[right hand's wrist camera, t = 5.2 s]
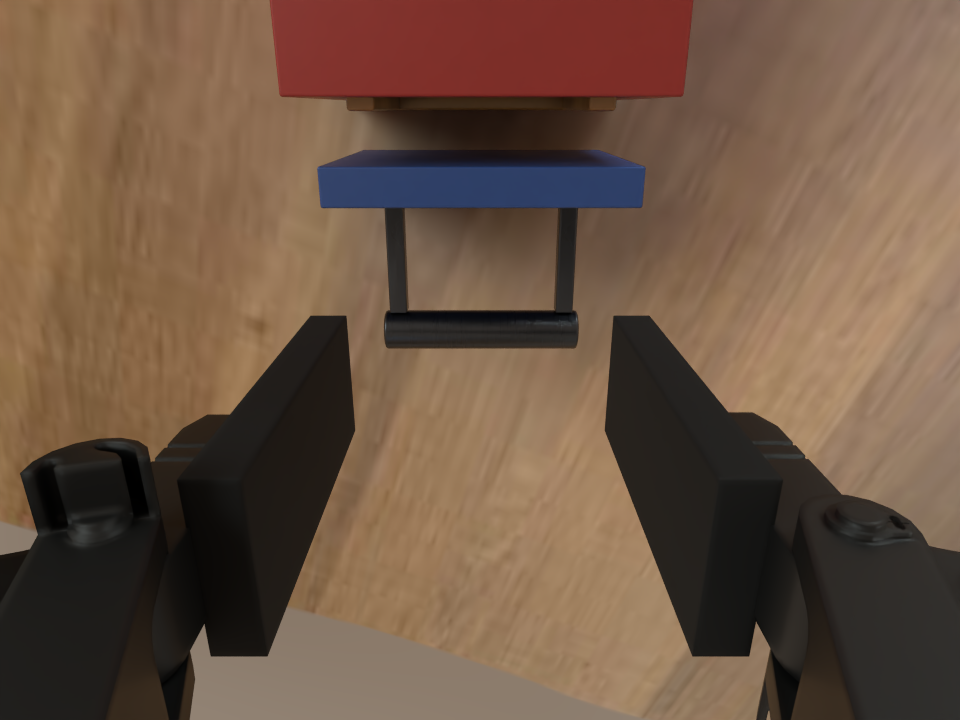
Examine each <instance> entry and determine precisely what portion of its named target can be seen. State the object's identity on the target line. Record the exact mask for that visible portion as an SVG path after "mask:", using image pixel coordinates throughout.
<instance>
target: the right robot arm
mask: <svg viewBox="0 0 960 720" xmlns="http://www.w3.org/2000/svg"><path fill="white" fill-rule="evenodd" d="M354 432H355V421H354V408H353V395H352V382H351V369H350V357H349V344H348V331H347V318H346V316H310V317H309V319H308V320H307V321H306V322H305V323H304V325H303V326H302V327H301V328H300V330H299V331H298V332H297V333H296V334H295V336H294V337H293V338H292V339H291V341H290V342H289V343H288V344H287V345H286V347H285V348H284V349H283V350H282V352H281V353H280V354H279V355H278V356H277V358H276V359H275V360H274V361H273V363H272V364H271V365H270V366H269V367H268V369H267V370H266V371H265V372H264V374H263V375H262V376H261V377H260V379H259V380H258V381H257V382H256V383H255V385H254V386H253V387H252V388H251V390H250V391H249V392H248V393H247V394H246V396H245V397H244V398H243V399H242V401H241V402H240V403H239V404H238V405H237V407H236V408H235V409H234V410H233V412H232V413H231V414H230V415H206V416H204V417H203V418H201V419H199V420H197V421H195V422H194V423H192V424H190V425H188V426H186V427H185V428H183V429H182V430H181V431H180V432H179V433H178V434H177V435H176V436H175V437H174V438H173V440H172V441H171V442H170V443H169V444H168V448H164V449H163V450H162V451H161V452H160V454H159V455H158V456H157V457H156V458H155V462H151V461H150V456H149V452H148V447H146V446H145V445H143V444H142V443H140V442H139V441H136V440H130V439H124V438H107V439H96V440H91V441H86V442H81V443H75V444H72V445H70V446H67V447H64V448H61V449H58V450H55V451H52V452H50V453H48V454H46V455H44V456H43V457H41V458H39V459H37V460H35V461H33V462H32V463H31V464H30V465H29V466H28V467H26V468H25V469H24V470H23V471H22V472H21V473H20V475H21V478H22V482H23V485H24V488H25V492H26V495H27V499H28V502H29V506H30V509H31V512H32V516H33V519H34V523H35V526H36V529H37V533H38V536H37V538H36V539H35V541H34V543H33V545H32V547H31V549H30V550H25V551H20V552H15V553H10V554H5V555H0V720H190V712H191V705H192V697H193V690H194V683H195V676H194V669H193V663H192V659H191V654H190V650H191V648H192V646H193V644H194V642H195V640H196V638H197V636H198V635H199V633H200V631H201V629H202V627H203V625H204V624H205V629H206V634H207V639H208V644H209V649H210V655H211V656H268V654H269V651H270V649H271V646H272V643H273V641H274V638H275V636H276V633H277V630H278V628H279V625H280V623H281V620H282V618H283V615H284V612H285V610H286V607H287V605H288V602H289V600H290V597H291V594H292V592H293V589H294V587H295V584H296V582H297V579H298V576H299V574H300V571H301V569H302V566H303V564H304V561H305V558H306V556H307V553H308V551H309V548H310V545H311V543H312V540H313V538H314V535H315V533H316V530H317V527H318V525H319V522H320V520H321V517H322V515H323V512H324V509H325V507H326V504H327V502H328V499H329V497H330V494H331V491H332V489H333V486H334V484H335V481H336V478H337V476H338V473H339V471H340V468H341V466H342V463H343V460H344V458H345V455H346V453H347V450H348V448H349V445H350V442H351V440H352V437H353V435H354ZM605 432H606V435H607V437H608V440H609V442H610V445H611V448H612V450H613V453H614V455H615V458H616V460H617V463H618V466H619V468H620V471H621V473H622V476H623V479H624V481H625V484H626V486H627V489H628V491H629V494H630V497H631V499H632V502H633V504H634V507H635V509H636V512H637V515H638V517H639V520H640V522H641V525H642V527H643V530H644V533H645V535H646V538H647V540H648V543H649V546H650V548H651V551H652V553H653V556H654V558H655V561H656V564H657V566H658V569H659V571H660V574H661V576H662V579H663V582H664V584H665V587H666V589H667V592H668V594H669V597H670V600H671V602H672V605H673V607H674V610H675V612H676V615H677V618H678V620H679V623H680V625H681V628H682V631H683V633H684V636H685V638H686V641H687V643H688V646H689V649H690V651H691V654H692V656H749V655H750V649H751V644H752V639H753V634H754V629H755V624H756V622H757V624H758V626H759V627H760V629H761V631H762V633H763V635H764V637H765V639H766V640H767V642H768V644H769V646H770V648H771V649H770V654H769V658H768V663H767V668H766V673H765V678H764V682H763V687H762V692H761V697H760V702H759V706H758V712H757V719H756V720H766V718H767V714H768V711H770V718H771V720H960V552H956V551H951V550H945V549H940V548H935V547H931V546H929V545H928V544H927V542H926V540H925V538H924V536H923V535H922V533H921V532H920V531H919V530H918V529H917V528H916V526H915V525H914V524H913V523H912V522H911V521H910V520H908V519H907V518H905V517H904V516H902V515H900V514H899V513H897V512H896V511H894V510H893V509H890V508H888V507H885V506H883V505H880V504H878V503H875V502H873V501H871V500H866V499H862V498H858V497H853V496H849V495H842V494H841V493H840V492H839V491H838V490H837V489H836V488H835V487H834V486H833V485H832V484H831V483H830V482H829V481H828V479H827V478H826V477H825V476H824V475H823V474H822V473H821V472H820V471H819V470H818V469H817V468H816V467H815V466H814V465H813V463H812V462H811V461H810V460H809V459H805V455H804V454H803V453H802V452H801V451H800V450H799V449H798V447H797V446H796V445H793V442H792V441H791V440H790V439H789V438H788V437H787V436H786V435H785V434H784V433H783V431H782V430H781V429H780V428H779V427H778V426H776V425H774V424H773V423H771V422H769V421H767V420H765V419H764V418H762V417H760V416H758V415H756V414H754V413H728V412H727V410H726V409H725V408H724V407H723V405H722V404H721V403H720V402H719V401H718V399H717V398H716V397H715V396H714V394H713V393H712V392H711V391H710V390H709V388H708V387H707V386H706V385H705V383H704V382H703V381H702V380H701V379H700V377H699V376H698V375H697V374H696V372H695V371H694V370H693V369H692V368H691V366H690V365H689V364H688V363H687V361H686V360H685V359H684V358H683V357H682V355H681V354H680V353H679V352H678V350H677V349H676V348H675V347H674V345H673V344H672V343H671V342H670V341H669V339H668V338H667V337H666V336H665V334H664V333H663V332H662V331H661V330H660V328H659V327H658V326H657V325H656V323H655V322H654V321H653V320H652V319H651V317H650V316H614V318H613V330H612V343H611V356H610V369H609V382H608V395H607V408H606V421H605Z"/></svg>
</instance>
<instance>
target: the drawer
mask: <svg viewBox="0 0 960 720" xmlns="http://www.w3.org/2000/svg"><path fill="white" fill-rule="evenodd" d="M616 99H617V97H346V101H347V109H348V110H349V111H382V110H584V111H613V110H615V108H616ZM645 169H646V168H645V167H644V166H641V165H638V164H635V163H633V162H630V161H627V160H624V159H622V158H619V157H616V156H613V155H611V154H608V153H605V152H602V151H600V150H363V151H360V152H358V153H355V154H352V155H349V156H347V157H344V158H341V159H339V160H336V161H333V162H330V163H328V164H325V165H322V166H320V167H318V168H317V170H318V181H319V192H320V204H321V208H385V224H386V243H387V262H388V281H389V300H390V310H389V311H386V314H385V319H384V339H385V344H386V347H387V348H576V346H577V343H578V334H579V324H578V315H577V312H576V311H574V310H573V292H574V273H575V254H576V235H577V217H578V208H641V207H642V203H643V192H644V180H645ZM404 208H558V224H557V248H556V272H555V295H554V309H555V310H408V308H409V305H408V281H407V257H406V233H405V209H404Z"/></svg>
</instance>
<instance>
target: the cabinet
mask: <svg viewBox="0 0 960 720" xmlns="http://www.w3.org/2000/svg"><path fill="white" fill-rule="evenodd" d="M270 7H271V16H272V26H273V36H274V45H275V55H276V65H277V74H278V84H279V93H280V96H282V97H296V98H315V99H334V100H346V97H617V99H616V100H627V99H645V98H664V97H681V96H683V94H684V86H685V76H686V66H687V57H688V47H689V38H690V28H691V19H692V9H693V0H270Z"/></svg>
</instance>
